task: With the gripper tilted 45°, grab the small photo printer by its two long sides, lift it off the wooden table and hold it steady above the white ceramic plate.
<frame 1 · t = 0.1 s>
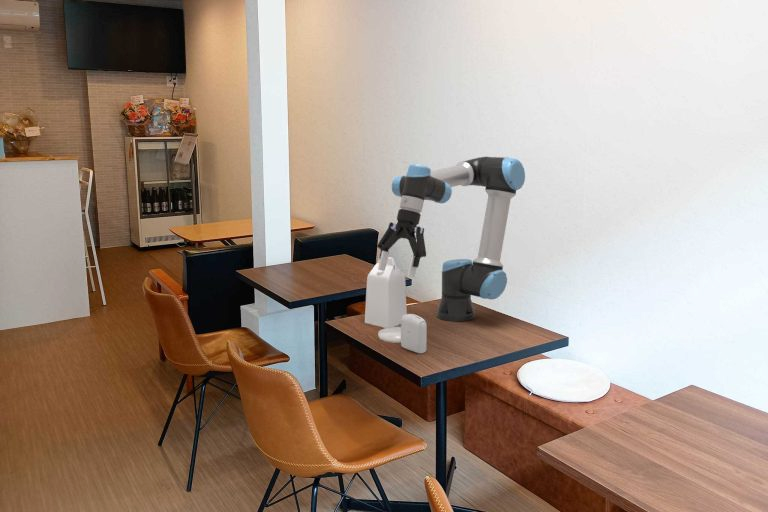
hand: (395, 273, 216), 28 cm above the table, tool tilted 20°, fingers open, 13 cm apart
milk: (385, 322, 256), on the table
white plate: (398, 336, 240), on the table
photo printer: (413, 350, 226), on the table
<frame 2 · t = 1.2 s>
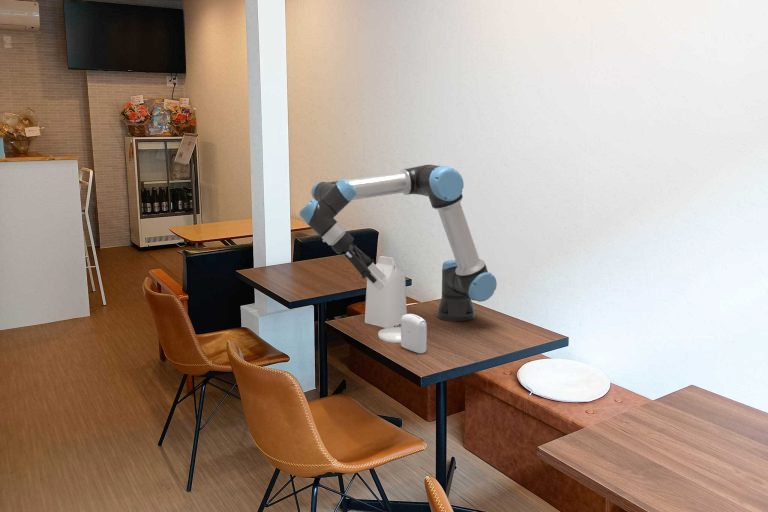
hand: (382, 283, 221), 23 cm above the table, tool tilted 45°, fingers open, 13 cm apart
nothing on the table moved.
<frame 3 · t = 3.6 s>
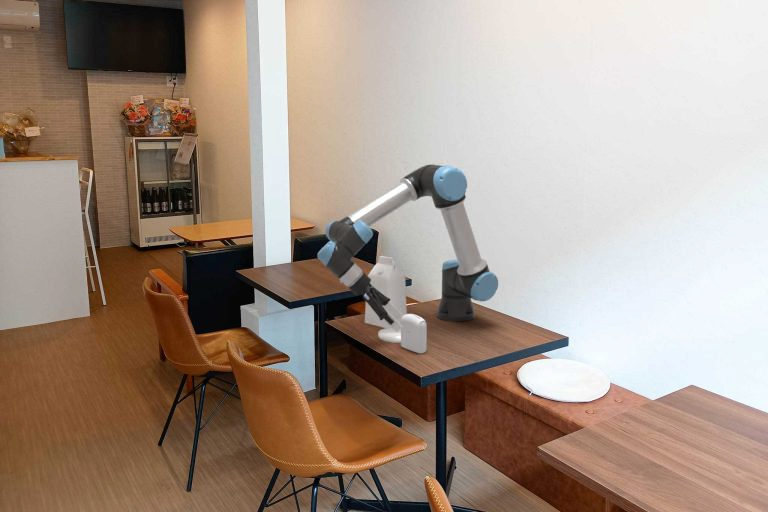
hand: (399, 323, 223), 9 cm above the table, tool tilted 45°, fingers open, 13 cm apart
nothing on the table moved.
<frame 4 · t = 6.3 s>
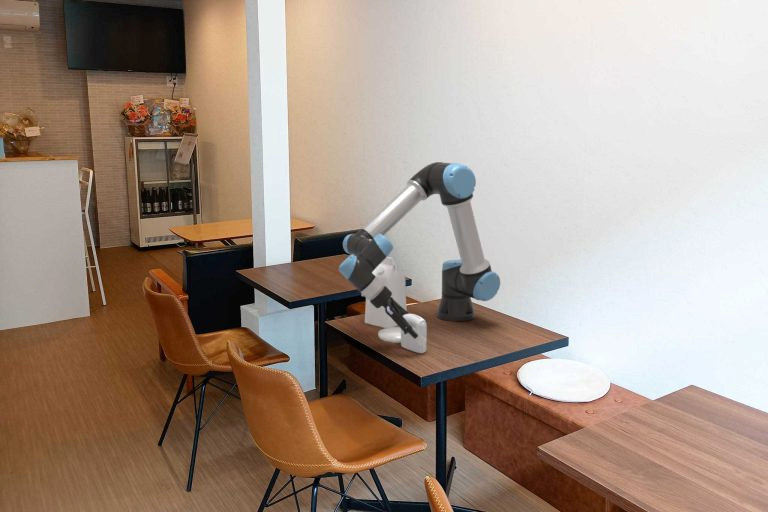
hand: (422, 338, 225), 4 cm above the table, tool tilted 45°, fingers closed on photo printer, 9 cm apart
photo printer: (413, 350, 226), on the table, touching gripper
everything else where it was.
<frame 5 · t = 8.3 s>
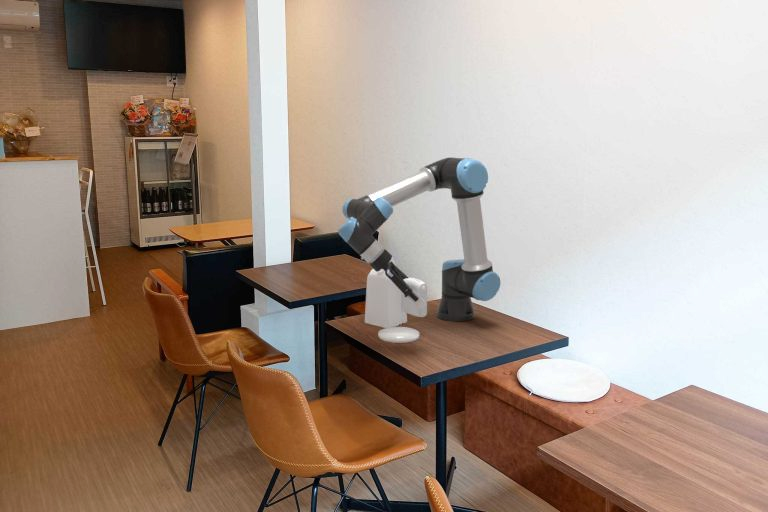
hand: (423, 302, 222), 17 cm above the table, tool tilted 45°, fingers closed on photo printer, 9 cm apart
photo printer: (413, 314, 223), point 12 cm above the table, touching gripper
everything else where it was.
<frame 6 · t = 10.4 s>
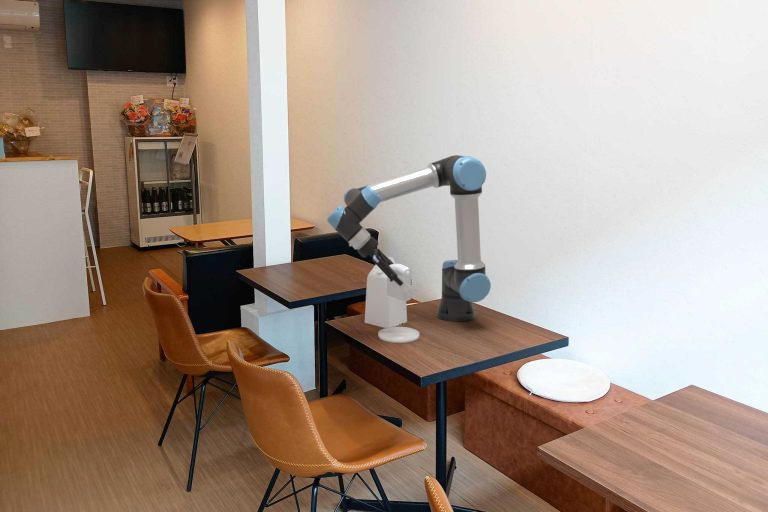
hand: (408, 287, 235), 19 cm above the table, tool tilted 45°, fingers closed on photo printer, 9 cm apart
photo printer: (399, 298, 236), point 15 cm above the table, touching gripper
everything else where it was.
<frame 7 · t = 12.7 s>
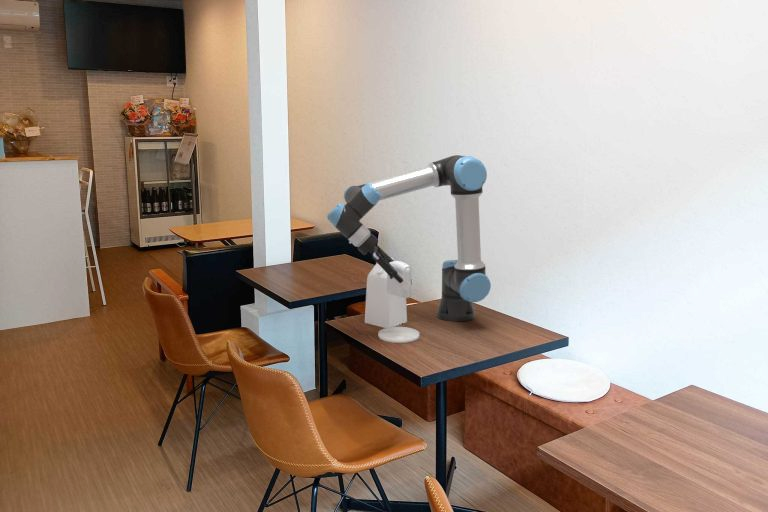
hand: (408, 284, 235), 20 cm above the table, tool tilted 45°, fingers closed on photo printer, 9 cm apart
photo printer: (399, 295, 235), point 16 cm above the table, touching gripper
everything else where it was.
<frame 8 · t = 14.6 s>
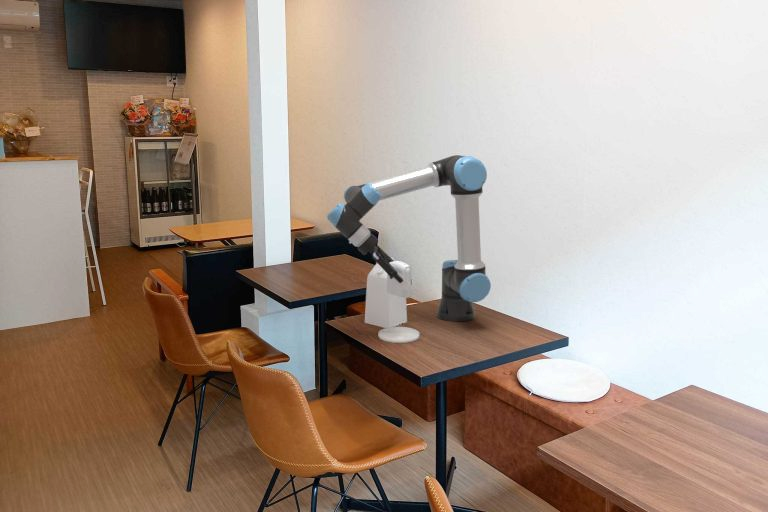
hand: (408, 284, 235), 20 cm above the table, tool tilted 45°, fingers closed on photo printer, 9 cm apart
photo printer: (399, 295, 235), point 16 cm above the table, touching gripper
everything else where it was.
at the end: the gripper is holding photo printer; photo printer point 15.5 cm above the table; photo printer inside the target area on the white plate (0.5 cm from its centre), point 15.5 cm above the white plate's base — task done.
